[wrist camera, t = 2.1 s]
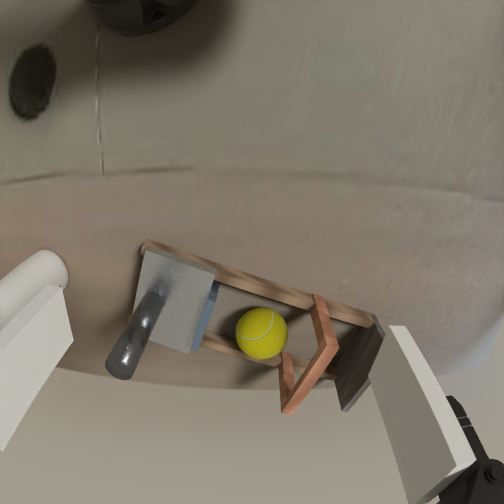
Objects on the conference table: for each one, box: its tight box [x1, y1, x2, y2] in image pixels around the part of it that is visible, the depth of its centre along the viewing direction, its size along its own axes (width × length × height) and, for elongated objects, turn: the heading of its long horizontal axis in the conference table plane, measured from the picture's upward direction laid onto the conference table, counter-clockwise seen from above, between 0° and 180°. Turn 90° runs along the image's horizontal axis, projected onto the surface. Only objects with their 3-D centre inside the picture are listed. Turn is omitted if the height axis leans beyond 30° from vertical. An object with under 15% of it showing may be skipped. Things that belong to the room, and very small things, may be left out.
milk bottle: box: [0, 250, 68, 332], centre depth 34 cm, size 8×8×20 cm
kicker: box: [105, 245, 220, 380], centre depth 36 cm, size 10×14×17 cm
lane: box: [128, 239, 385, 415], centre depth 40 cm, size 34×13×11 cm, turn 70°
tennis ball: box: [236, 307, 288, 359], centre depth 42 cm, size 7×7×7 cm
